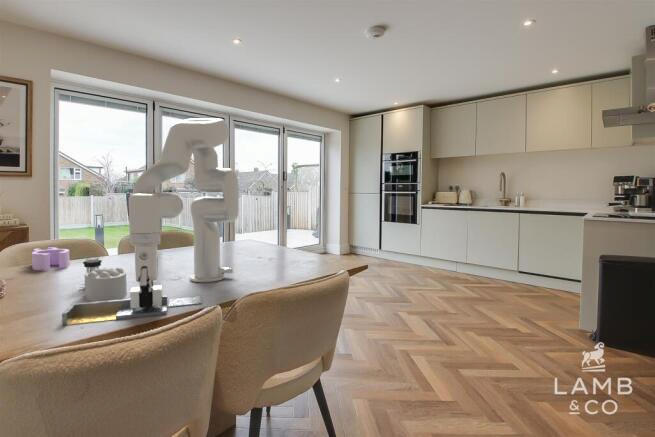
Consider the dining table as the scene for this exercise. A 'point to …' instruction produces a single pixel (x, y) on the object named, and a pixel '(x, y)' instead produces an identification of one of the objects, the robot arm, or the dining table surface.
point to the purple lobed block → (50, 258)
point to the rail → (109, 311)
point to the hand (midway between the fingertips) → (147, 303)
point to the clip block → (155, 291)
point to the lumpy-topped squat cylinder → (105, 284)
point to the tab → (185, 301)
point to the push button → (91, 265)
